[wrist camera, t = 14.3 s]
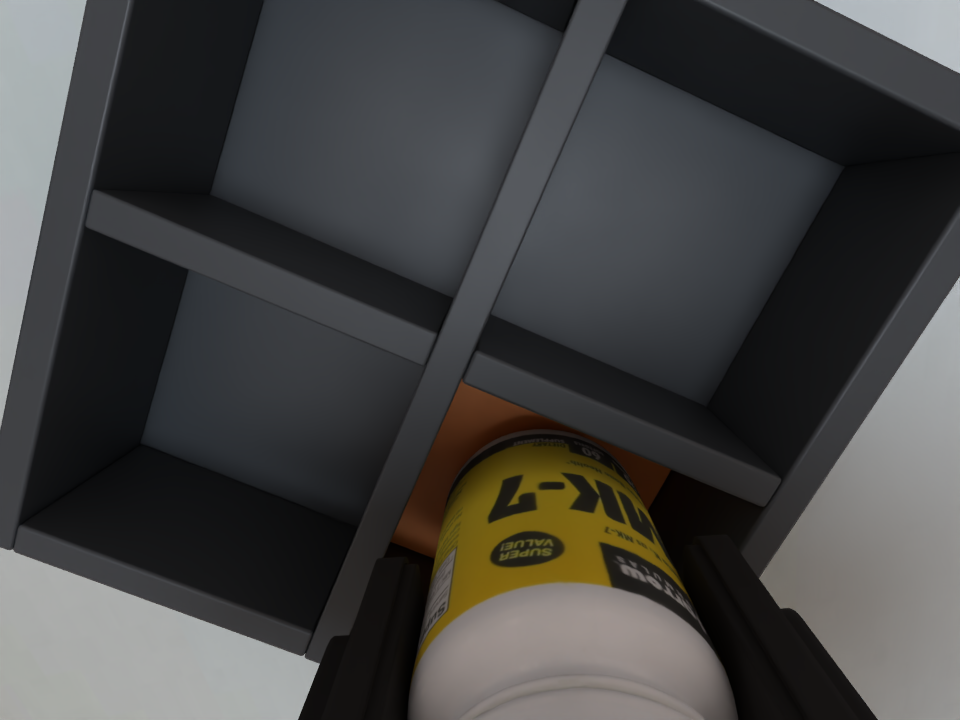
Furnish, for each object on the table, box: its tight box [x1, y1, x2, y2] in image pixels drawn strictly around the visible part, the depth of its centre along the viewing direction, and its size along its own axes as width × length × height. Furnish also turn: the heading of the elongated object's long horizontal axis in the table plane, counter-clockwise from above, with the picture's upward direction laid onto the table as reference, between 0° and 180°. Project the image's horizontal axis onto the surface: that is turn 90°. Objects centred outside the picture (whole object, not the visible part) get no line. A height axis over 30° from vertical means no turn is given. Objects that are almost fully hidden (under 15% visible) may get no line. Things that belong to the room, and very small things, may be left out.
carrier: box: [0, 0, 960, 663], centre depth 12 cm, size 15×15×4 cm
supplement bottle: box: [407, 429, 738, 720], centre depth 10 cm, size 5×5×8 cm
